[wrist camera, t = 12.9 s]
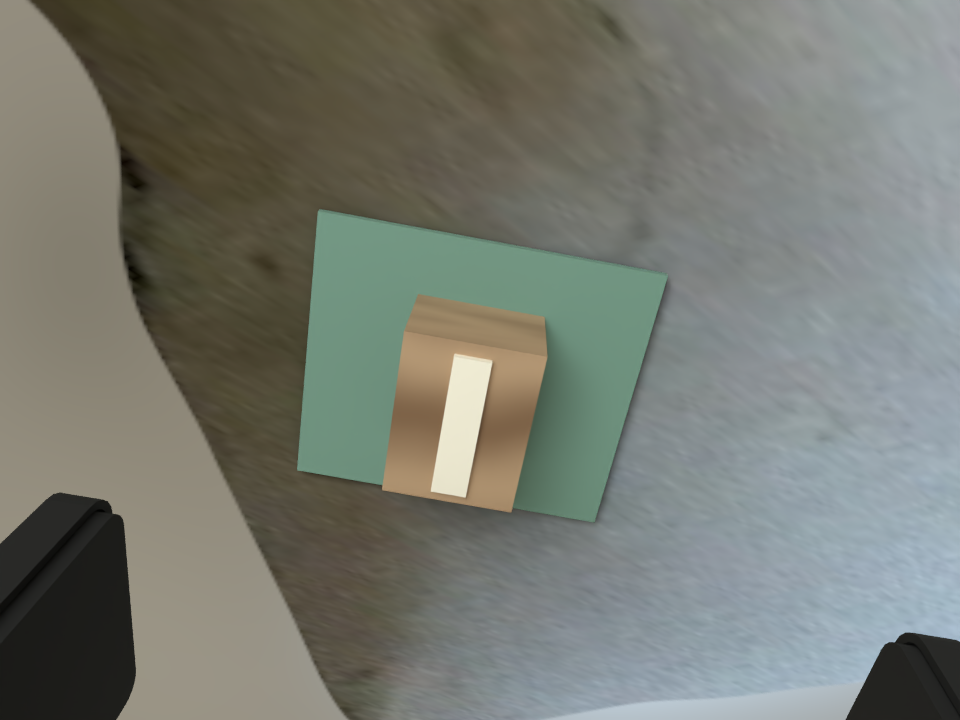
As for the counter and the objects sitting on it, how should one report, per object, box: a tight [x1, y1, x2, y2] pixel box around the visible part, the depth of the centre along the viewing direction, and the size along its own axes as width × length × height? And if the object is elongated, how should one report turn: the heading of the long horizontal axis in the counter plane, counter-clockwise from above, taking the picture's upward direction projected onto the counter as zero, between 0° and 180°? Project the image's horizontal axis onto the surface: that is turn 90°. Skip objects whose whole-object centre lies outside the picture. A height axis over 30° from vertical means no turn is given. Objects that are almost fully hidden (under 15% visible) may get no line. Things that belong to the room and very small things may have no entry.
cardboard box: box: [382, 294, 548, 512], centre depth 34 cm, size 8×6×5 cm
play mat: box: [297, 209, 668, 522], centre depth 36 cm, size 16×14×1 cm
